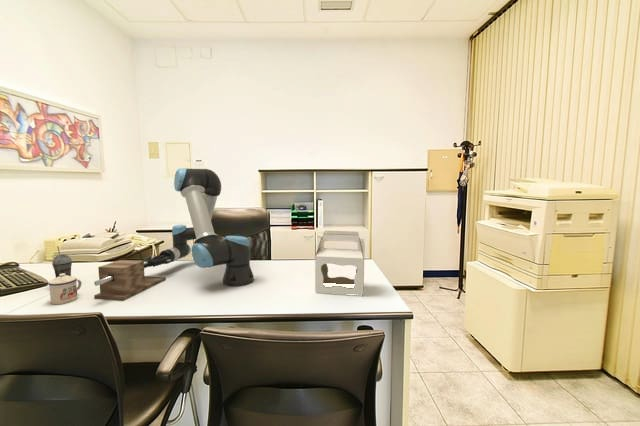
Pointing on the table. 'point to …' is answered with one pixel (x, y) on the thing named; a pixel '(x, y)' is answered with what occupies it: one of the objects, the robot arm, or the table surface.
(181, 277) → the table surface
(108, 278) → the plunger
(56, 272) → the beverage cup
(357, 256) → the gable box
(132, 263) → the block
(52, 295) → the teacup with lid
